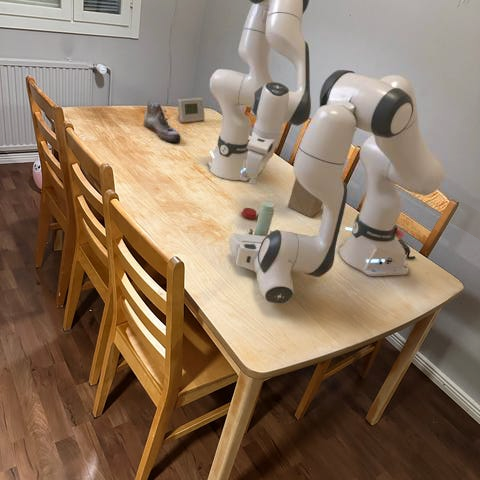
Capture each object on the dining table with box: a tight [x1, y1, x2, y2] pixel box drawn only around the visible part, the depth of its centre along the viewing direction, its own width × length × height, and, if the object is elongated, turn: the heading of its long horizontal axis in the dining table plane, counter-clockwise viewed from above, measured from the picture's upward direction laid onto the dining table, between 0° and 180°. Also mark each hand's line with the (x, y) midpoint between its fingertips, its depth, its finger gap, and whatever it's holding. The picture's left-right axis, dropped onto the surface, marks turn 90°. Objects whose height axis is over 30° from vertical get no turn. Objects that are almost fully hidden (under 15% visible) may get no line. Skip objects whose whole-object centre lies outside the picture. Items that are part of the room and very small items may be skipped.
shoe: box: [143, 101, 181, 144], centre depth 198 cm, size 25×11×12 cm, turn 30°
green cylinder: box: [253, 200, 275, 236], centre depth 132 cm, size 4×4×16 cm
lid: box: [241, 207, 258, 221], centre depth 152 cm, size 5×5×2 cm
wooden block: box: [287, 178, 324, 218], centre depth 160 cm, size 10×10×20 cm
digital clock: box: [177, 97, 206, 124], centre depth 221 cm, size 16×9×11 cm, turn 123°
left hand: (256, 177), depth 145 cm, fingers open, 8 cm apart
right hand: (260, 231), depth 134 cm, fingers open, 6 cm apart
